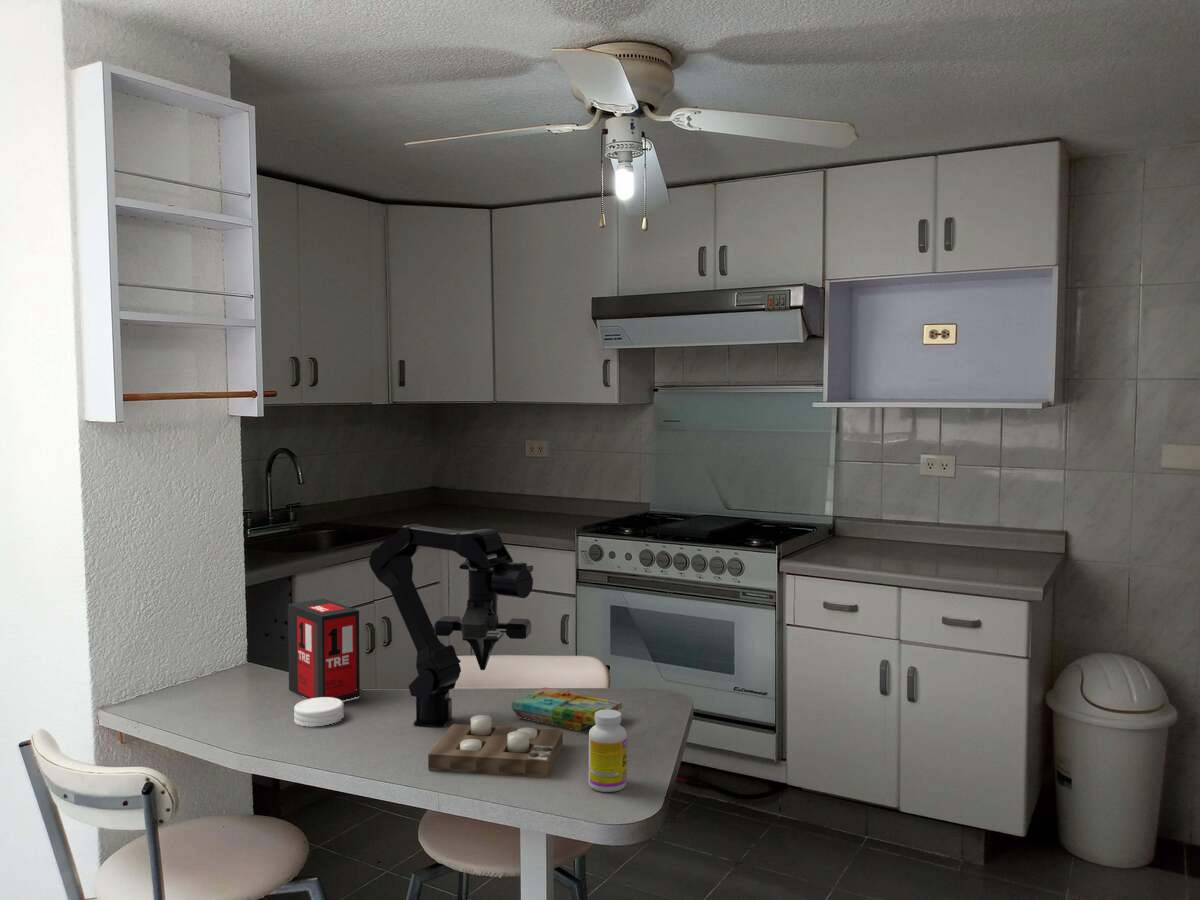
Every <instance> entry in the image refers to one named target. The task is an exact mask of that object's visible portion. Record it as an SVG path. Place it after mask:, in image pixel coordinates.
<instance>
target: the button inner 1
mask: <svg viewBox="0 0 1200 900" xmlns="http://www.w3.org/2000/svg"><path fill="white" fill-rule="evenodd" d="M492 719H493V718H492V717H491V716H490V715H485V714H479V715H474V716H472V717H471V718H470V725H471V734H472V735H475V736H486V735H489V734H491V732H492V726H493V725H492V724H493V722H492V721H493V720H492Z"/></svg>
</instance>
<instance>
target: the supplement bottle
mask: <svg viewBox="0 0 1200 900" xmlns="http://www.w3.org/2000/svg"><path fill="white" fill-rule="evenodd" d="M594 720H595V724H594V725H592V727H590V729H589V730H588V731H589V732H588V784H589V787H590V788H592V789H593V790H595V791H597V792H602V793H615V792H619V791H621V790H623V789H624V788H625V787H626V785H627V767H628V766H627V758H628V756H627V755H628V754H627V752H628V751H627V750H628V749H627V743H628V741H627V739H628V737H627V735H628V734H627V729H625V728H624V727H623V725H621V722H622V713H621V712H620V711H619V710H617V711H616V710H610V709H604V710H599V711H597V712H595V718H594Z"/></svg>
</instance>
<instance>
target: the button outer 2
mask: <svg viewBox="0 0 1200 900" xmlns="http://www.w3.org/2000/svg"><path fill="white" fill-rule="evenodd" d="M507 750H508V751H509V752H512V753H524V752H527V751H528V750H529V733H528V732H525V731H513V732H510V733H508V739H507Z"/></svg>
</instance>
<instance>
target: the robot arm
mask: <svg viewBox="0 0 1200 900" xmlns="http://www.w3.org/2000/svg"><path fill="white" fill-rule="evenodd" d="M419 547H427V548H432V549H439V550H446V551H452V552H454V553H456V554H458V555H459V556H460V557H461V558H464V559H465V561H463V562H462V563H461V564H460V565H459V569H460V570H467V571H468V599H467V603H466V609H465V612H464V614H463V616H462V618H461V617H460V616H452V615H450V616H449V615H443V616H441V617H440V618H439V619H438V620H437V621H435V623H434V626H433V624H432V621H431V619H430V617H429V615H428V613H427V610H426V608H425V606H424V603H423V601H422V599H421V597H420V594H419V592H418V590H417V588H416V586H415V583H414V581H413V574H414V573H413V572H414V564H413V560H412V558H413V557H414V556H415V555H416V554H417V552H418V550H419ZM368 564H369V567H370V569H371V571H372V573H373V574H374V576H375V577H376V579H377V580H378V581H379V582H380V583H381V584H382V585H384V586H385V587H386V588H388V589H389V591H390V593H391V595H392V597H393V599H394V602H395V604H396V606H397V608H398V611H399V613H400V615H401V617H402V619H403V623H404V625H405V627H406V628H407V631H408V633H409V635H410V639H411V640H412V642H413V645H414V647H415V650H416V661H415V662H416V663H415V667H416V671H417V674H418V675H417V677H416V678H414V680H413V681H412V682H411V683H410V684H409V685H408V689H409V690H408V691H409V693H410V696H412V697H414V698H415V706H416V707H415V710H416V714H415V715H416V716H415V718H416V719H415V720H414V722H413V724H412V725H413V726H418V727H419V726H421V727H441V728H442V727H445V726H446V724H448V722H449V721H450V720H451V719H452V718H453V700H452V697H450V691H451V690H453V689H455V687H456V683H457V681H458V680H459V678H460V674H461V672H462V668H461V665H460V663H461V662H462V661H461V660H460V659H459V657H458V655H457V653H456V650H455V647H454V646H453V645H452V644H449V645H445V644H444V643H442V641H440V639H439V637H438V636H440V637H450V635H451V634H453V632H457V631H458V632H461V636H462V638H461V639H462V641H465V642H467V643H468V644H469V645H470V647H471V648H472V650H473V652H474V653H473V654H474V655H475V658H476V662H477V664H478V667H479V669H480V671H485V670H486V669H487V666H488V663H489V661H490V657H491V655H492V651H493V648H494V646H495V644H496V643H497V642H499V641H500V640H501V639H502V638H503V637H504V635H506V637H508V638H509V639H510V640H511V639H516V640H525V639H527V638H528V637H529V635H530V634H531V633H532V622H531V621H530V619H528V618H514V617H513V618H510V620H509V621H508V622H499V615H498V600H499V596H504V597H510V598H519V599H526V598H527V597H528V596H530V594H531V592H532V590H533V585H534V578H533V576H532V573H531V571H530V570H529V569H527V563H526V562H521V561H520V562H514V560H513V558H512V556H511V554H510V553H509V551H508V549H507V547H506V546H505V544H504V542H503V540H502V537H501V535H500V534H499V532H498V530H497V529H493V528H483V529H474V530H464V531H463V530H455V529H448V528H442V527H437V526H436V527H433V526H427V525H422V524H419V523H413V524H407V525H402V527H400V528H399V529H398V530H397V531H396V533H394V534H393V535H391V537H389V538H388V539H387V540H385V541H384V542H382V543H381V544H380V545H379V546H378V547H376V548H374V549H373V550H372V551H371V554H370V556H369V559H368ZM504 633H505V634H504Z"/></svg>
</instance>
